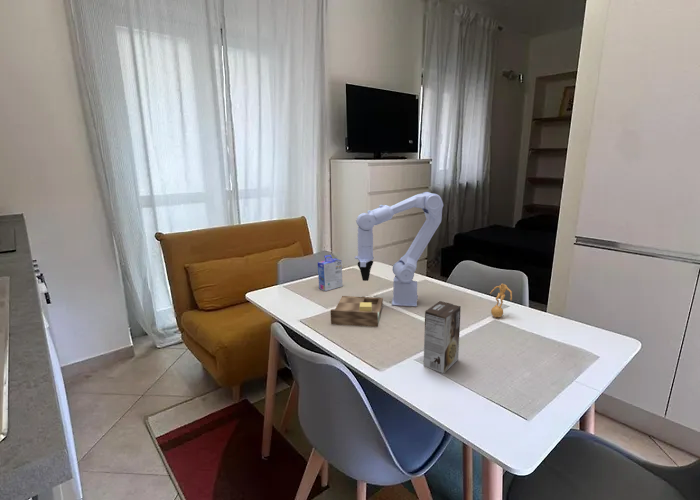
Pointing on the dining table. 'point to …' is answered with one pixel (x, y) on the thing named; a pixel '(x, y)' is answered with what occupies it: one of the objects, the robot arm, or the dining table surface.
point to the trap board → (356, 311)
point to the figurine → (497, 310)
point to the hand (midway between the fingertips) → (365, 280)
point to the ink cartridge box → (330, 273)
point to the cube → (365, 306)
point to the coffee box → (441, 336)
